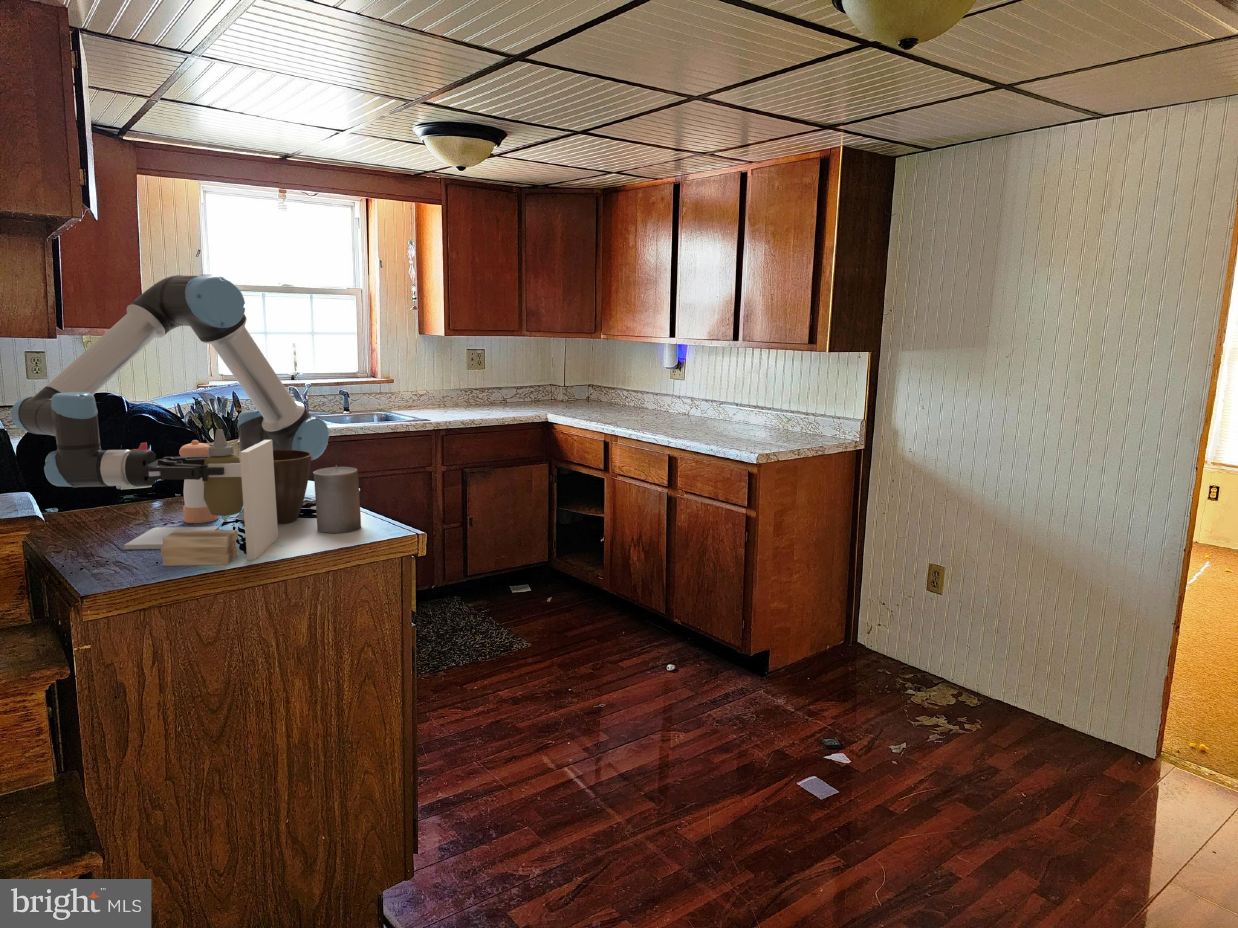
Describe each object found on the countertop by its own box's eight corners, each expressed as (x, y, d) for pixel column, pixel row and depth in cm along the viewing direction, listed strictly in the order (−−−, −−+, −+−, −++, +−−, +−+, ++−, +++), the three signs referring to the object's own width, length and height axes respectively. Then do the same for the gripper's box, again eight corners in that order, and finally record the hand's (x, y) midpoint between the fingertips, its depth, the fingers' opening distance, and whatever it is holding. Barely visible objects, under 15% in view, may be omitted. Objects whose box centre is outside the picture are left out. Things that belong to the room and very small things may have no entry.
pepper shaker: (219, 514, 199) (213, 437, 196) (216, 521, 192) (210, 442, 189) (186, 517, 196) (179, 438, 193) (182, 524, 190) (175, 443, 186)
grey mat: (154, 531, 183) (154, 527, 183) (219, 530, 185) (219, 526, 184) (124, 549, 169) (124, 544, 169) (195, 548, 171) (195, 543, 171)
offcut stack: (175, 556, 165) (173, 530, 164) (240, 555, 167) (238, 529, 166) (161, 565, 159) (158, 539, 158) (228, 564, 160) (226, 538, 159)
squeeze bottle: (198, 513, 173) (191, 429, 169) (237, 506, 179) (230, 425, 175) (214, 520, 167) (207, 433, 164) (253, 513, 173) (247, 429, 170)
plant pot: (325, 514, 201) (322, 450, 198) (296, 529, 187) (292, 461, 184) (268, 511, 203) (264, 448, 200) (234, 527, 188) (229, 459, 185)
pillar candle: (356, 521, 195) (353, 459, 192) (365, 530, 187) (361, 466, 184) (314, 526, 191) (309, 463, 188) (320, 536, 182) (316, 470, 179)
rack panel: (271, 538, 179) (264, 439, 175) (278, 538, 180) (272, 439, 176) (247, 559, 164) (239, 452, 160) (254, 559, 164) (247, 452, 160)
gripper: (154, 476, 179) (263, 474, 182) (110, 496, 160) (233, 494, 163) (150, 442, 178) (260, 441, 180) (106, 458, 159) (230, 457, 162)
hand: (247, 466), depth 172 cm, fingers closed on squeeze bottle, 6 cm apart
